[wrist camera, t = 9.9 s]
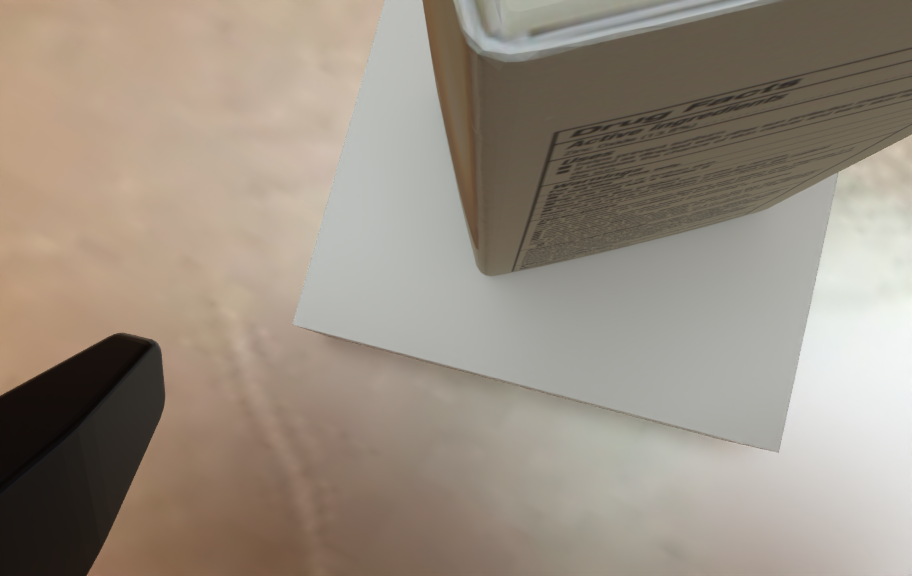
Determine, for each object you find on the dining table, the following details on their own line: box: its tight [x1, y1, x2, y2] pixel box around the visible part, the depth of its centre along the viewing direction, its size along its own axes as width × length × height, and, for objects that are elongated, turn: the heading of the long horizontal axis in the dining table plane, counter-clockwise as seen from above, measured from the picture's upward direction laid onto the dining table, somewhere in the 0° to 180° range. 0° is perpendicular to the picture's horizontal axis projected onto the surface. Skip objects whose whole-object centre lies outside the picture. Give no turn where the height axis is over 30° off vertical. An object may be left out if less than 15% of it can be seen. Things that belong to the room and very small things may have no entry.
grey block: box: [293, 0, 838, 453], centre depth 19 cm, size 10×10×4 cm
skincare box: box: [422, 0, 912, 276], centre depth 10 cm, size 6×4×12 cm
